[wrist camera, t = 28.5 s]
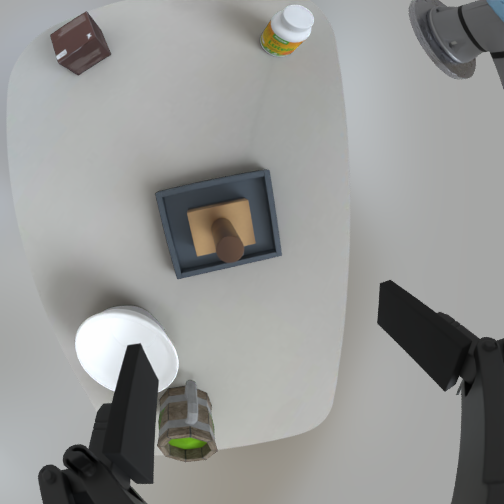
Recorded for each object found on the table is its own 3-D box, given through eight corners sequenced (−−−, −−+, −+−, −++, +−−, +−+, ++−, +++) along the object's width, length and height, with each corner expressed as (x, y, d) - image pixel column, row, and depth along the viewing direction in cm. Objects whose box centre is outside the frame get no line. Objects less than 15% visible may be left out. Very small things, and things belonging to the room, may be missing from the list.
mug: (207, 419, 52) (213, 463, 41) (158, 414, 50) (156, 458, 39) (220, 371, 48) (228, 419, 37) (162, 363, 46) (158, 413, 34)
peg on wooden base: (243, 196, 39) (264, 212, 27) (250, 236, 41) (273, 268, 29) (187, 208, 38) (183, 229, 26) (196, 248, 40) (197, 285, 28)
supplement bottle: (257, 53, 33) (275, 26, 24) (261, 26, 31) (279, -4, 22) (292, 61, 34) (318, 38, 25) (295, 33, 32) (320, 7, 23)
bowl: (122, 372, 45) (114, 404, 37) (74, 303, 39) (55, 331, 31) (195, 348, 46) (197, 381, 38) (151, 269, 40) (142, 295, 32)
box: (102, 29, 26) (87, 9, 20) (112, 55, 29) (97, 37, 22) (68, 50, 26) (49, 34, 19) (77, 76, 28) (57, 63, 22)
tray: (265, 169, 39) (269, 169, 37) (278, 251, 43) (282, 255, 41) (157, 191, 37) (155, 193, 35) (178, 273, 41) (177, 279, 39)
